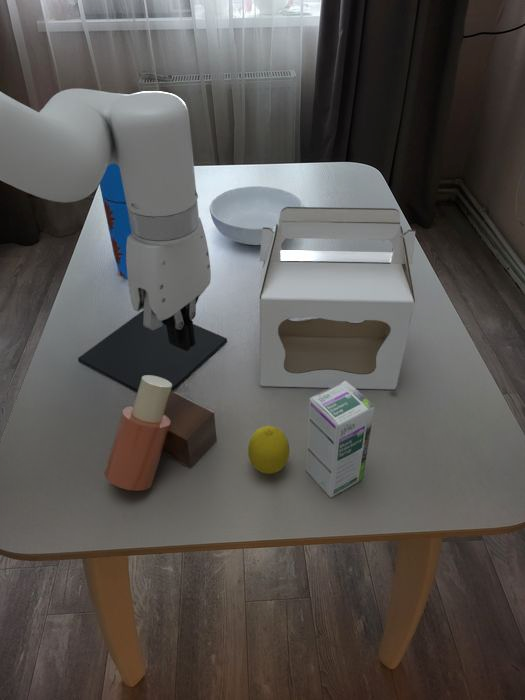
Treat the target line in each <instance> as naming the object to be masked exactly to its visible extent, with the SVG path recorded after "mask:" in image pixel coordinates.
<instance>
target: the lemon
mask: <svg viewBox="0 0 525 700" xmlns="http://www.w3.org/2000/svg"><path fill="white" fill-rule="evenodd" d="M247 454H248V459H249V461H250V463H251V465H252V466H253V468H254V469H255V470H257V471H258V472H259V473H263V474H266V475H270V474H275V473H278V472H280V471H281V470H282V469H283V468H284V467H285V466H286V464H287V462H288V460H289V457H290V444H289V440H288V438H287V436H286V433H284V432H283V430H281V428H278V427H277V426H274V425H264V426H261V427H259V428H257V429H256V430H255V431H254V432H253V434H252V435H251V437H250V439H249V441H248V446H247Z"/></svg>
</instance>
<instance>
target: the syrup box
mask: <svg viewBox="0 0 525 700" xmlns="http://www.w3.org/2000/svg"><path fill="white" fill-rule="evenodd" d="M308 404H309V405H308V422H307V440H306V458H305V459H306V460H305V461H306V462H305V471H306V472H307V473H308V475H309V476H310V477H311V478H312V479H313V480H314V481H315V482H316V484H317V485H318V486H319V487H320V488H321V489H322V490H323V491H324V492H325V494H326V495H327V496H328V497H329V498H333V497H335V496H336V495H338V494H339V493H341V492H344V491H346V490H347V489H349V488H351V487H352V486H354V485H356V484H357V483H358V482H360V481H362V480H363V479H364V474H365V468H366V463H367V455H368V450H369V445H370V439H371V438H370V437H371V432H372V426H373V419H374V413H375V405H373V403H372V402H371V401H370V400H368V398H366V397H365V395H364V394H362V393H361V392H360V391H359V389H358V388H354V387H353V386H352V385H350V384H349V383H348V382H347V381H344V382H342V383H341V384H339V385H337V386H334V387H332V388H326V389H325V390H323V391H321V392H320V393H317V394H316V395H313V396H311V397H309V402H308Z"/></svg>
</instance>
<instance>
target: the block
mask: <svg viewBox="0 0 525 700" xmlns="http://www.w3.org/2000/svg"><path fill="white" fill-rule="evenodd" d="M164 415H165V416H167V417H168V418H169V419H170V421H171V424H170V427H169V430H168V434H167V437H166V440H165V443H164V447H163V450H162V453H163V454H165V455H167V456H169V457H171V458H172V459H174V460H176V461H178V462H179V463H181V464H182V465H184V466H186V467H188V468H190V469H192V468H193V467H194V466H195V465H196V464H197V463H198V461H200V459H202V457H204V455H205V454H206V453H207V452H208V451H209V450H210V449H211V448H212V446H214V445H215V443H216V442H217V441H218V439H217V437H218V436H217V427H216V426H217V425H216V415H215V412H214V411H212V410H210V409H208V408H206V407H204V406H202V405H200V404H199V403H196V402H194V401H192V400H190V399H188V398H186V397H185V396H183V395H180V394H179V393H176V392H174V391H173V392H172V391H170V395H169V398H168V401H167V405H166V408H165V411H164Z"/></svg>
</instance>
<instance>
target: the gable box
mask: <svg viewBox="0 0 525 700" xmlns="http://www.w3.org/2000/svg"><path fill="white" fill-rule="evenodd" d="M287 239H289V240H294V239H317V240H321V239H322V240H323V239H325V240H373V241H374V240H376V241H377V240H378V241H379V240H380V241H382V242H383V241H389V242H390V243H391V245H392V249H391V251H344V250H342V251H341V250H287V249H286V250H284V249H283V250H282V244H283V243H284V242H285V240H287ZM415 242H416V229H408V230H406V231H405V232H404V230H403V227H402V225H401V213H400V211H399V210H398V209H397V208H392V207H391V208H390V207H389V208H387V207H386V208H385V207H383V208H382V207H329V206H328V207H326V206H325V207H324V206H323V207H321V206H319V207H318V206H315V207H314V206H304V207H285V208H283V209H282V211H281V213H280V218H279V222H278V225H277V224H276V223H275V225H274V227H273V229H272V230H271V229H270V228H267V227H263V229H262V240H261V245H260V251H259V262H261V271H260V286H259V300H258V301H259V303H258V304H259V385H260V386H262V387H277V388H278V387H279V388H281V387H282V388H283V387H284V388H287V387H288V388H318V389H320V388H322V389H330V388H332V387H334V386H337V385H339V384H341V383H342V382H344V381H347V382H348V383H349V384H350V385H352V386H353V387H354V388H355V389H357V390H359V389H360V390H362V389H363V390H396V389H397V387H398V382H399V377H400V372H401V368H402V364H403V358H404V354H405V350H406V345H407V340H408V337H409V331H410V327H411V322H412V319H413V318H412V316H413V312H414V309H415V304H416V297H415V293H414V286H413V281H412V275H411V267H410V265H413V262H414V250H415ZM294 318H312V319H307V320H292V319H294ZM358 321H361V322H358Z"/></svg>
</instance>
